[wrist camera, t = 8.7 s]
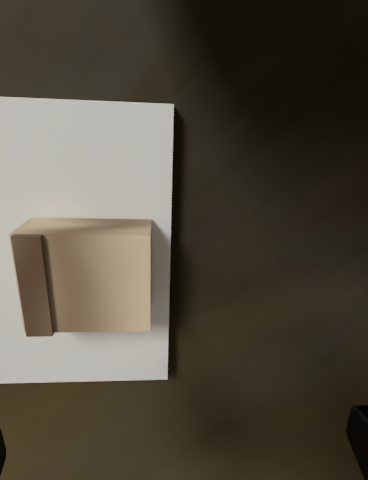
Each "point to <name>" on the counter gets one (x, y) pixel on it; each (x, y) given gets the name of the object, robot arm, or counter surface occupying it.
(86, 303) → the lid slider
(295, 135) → the counter surface
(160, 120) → the board
